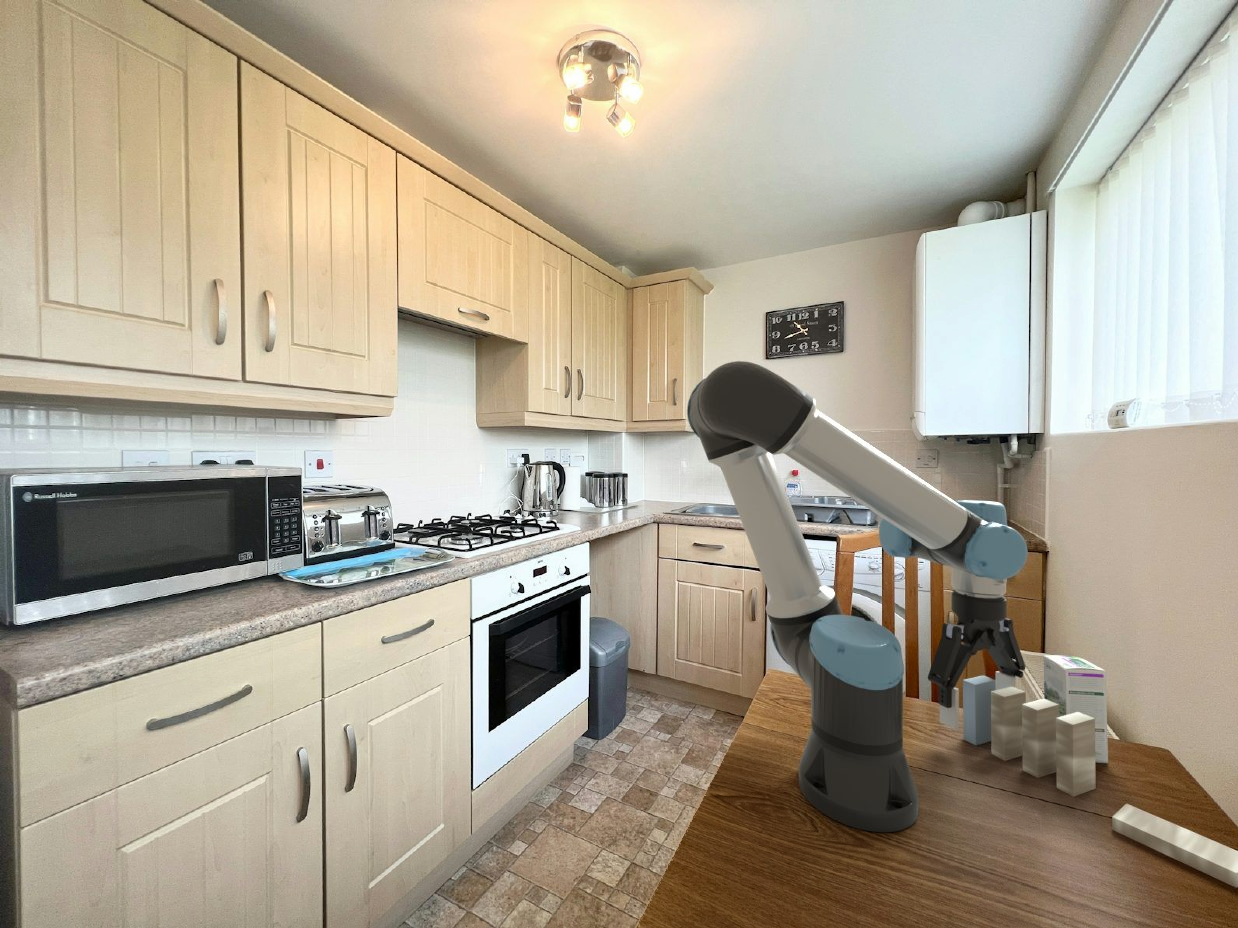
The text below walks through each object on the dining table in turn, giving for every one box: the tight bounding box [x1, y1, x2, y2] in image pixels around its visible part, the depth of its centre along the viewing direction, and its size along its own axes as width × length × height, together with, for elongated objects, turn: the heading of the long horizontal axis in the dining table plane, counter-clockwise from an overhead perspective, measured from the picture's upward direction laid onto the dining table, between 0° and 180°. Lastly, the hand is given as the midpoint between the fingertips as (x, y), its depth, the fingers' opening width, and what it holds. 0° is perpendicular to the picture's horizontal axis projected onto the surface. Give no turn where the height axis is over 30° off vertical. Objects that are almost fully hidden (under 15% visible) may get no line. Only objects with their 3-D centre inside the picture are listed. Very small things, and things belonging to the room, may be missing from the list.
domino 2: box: [990, 686, 1027, 761], centre depth 79 cm, size 2×5×10 cm, turn 110°
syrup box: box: [1043, 654, 1109, 764], centre depth 80 cm, size 6×6×14 cm
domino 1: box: [962, 674, 996, 746], centre depth 83 cm, size 2×5×10 cm, turn 110°
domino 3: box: [1022, 698, 1059, 779], centre depth 75 cm, size 2×5×10 cm, turn 110°
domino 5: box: [1111, 803, 1238, 889], centre depth 60 cm, size 2×5×10 cm
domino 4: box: [1056, 712, 1096, 798], centre depth 71 cm, size 2×5×10 cm, turn 110°
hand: (977, 718), depth 83 cm, fingers open, 13 cm apart
